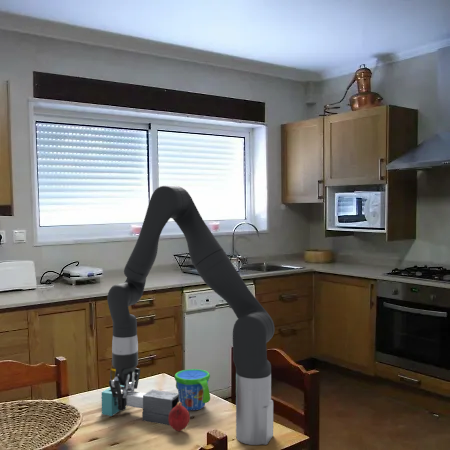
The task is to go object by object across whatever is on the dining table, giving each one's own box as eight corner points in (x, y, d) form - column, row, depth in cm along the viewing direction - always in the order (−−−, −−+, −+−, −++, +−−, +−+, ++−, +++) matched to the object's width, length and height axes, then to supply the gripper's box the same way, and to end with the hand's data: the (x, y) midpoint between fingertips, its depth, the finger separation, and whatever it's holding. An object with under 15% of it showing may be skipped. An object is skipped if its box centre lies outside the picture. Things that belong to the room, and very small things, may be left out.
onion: (186, 437, 134) (186, 407, 134) (165, 435, 135) (165, 405, 135) (192, 427, 140) (192, 399, 139) (172, 426, 141) (172, 397, 141)
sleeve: (180, 417, 147) (179, 393, 147) (170, 425, 141) (170, 400, 141) (152, 412, 150) (152, 389, 150) (142, 420, 145) (142, 396, 144)
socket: (125, 407, 154) (124, 385, 154) (111, 416, 148) (111, 393, 148) (115, 405, 156) (115, 384, 155) (101, 414, 149) (101, 392, 149)
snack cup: (166, 401, 159) (166, 369, 158) (196, 395, 164) (195, 364, 164) (188, 419, 145) (188, 384, 145) (220, 412, 151) (220, 378, 150)
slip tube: (156, 405, 148) (156, 394, 148) (150, 410, 145) (150, 398, 145) (115, 399, 153) (115, 388, 153) (109, 403, 150) (109, 392, 150)
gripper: (122, 357, 142) (123, 418, 142) (148, 345, 155) (148, 400, 155) (100, 355, 144) (100, 414, 145) (127, 342, 157) (127, 397, 158)
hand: (125, 407), depth 150 cm, fingers closed on slip tube, 3 cm apart
